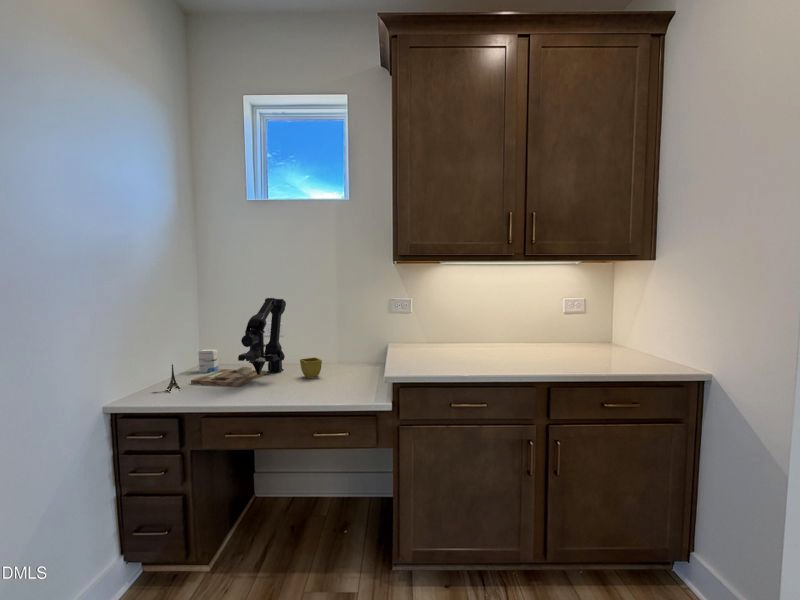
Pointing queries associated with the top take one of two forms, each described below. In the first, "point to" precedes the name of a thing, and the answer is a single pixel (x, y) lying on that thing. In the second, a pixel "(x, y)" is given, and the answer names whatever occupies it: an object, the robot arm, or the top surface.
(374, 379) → the top surface
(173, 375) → the eiffel tower figurine
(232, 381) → the board
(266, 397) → the top surface
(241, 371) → the maple block
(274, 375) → the top surface
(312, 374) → the flower pot
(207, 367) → the ink box
